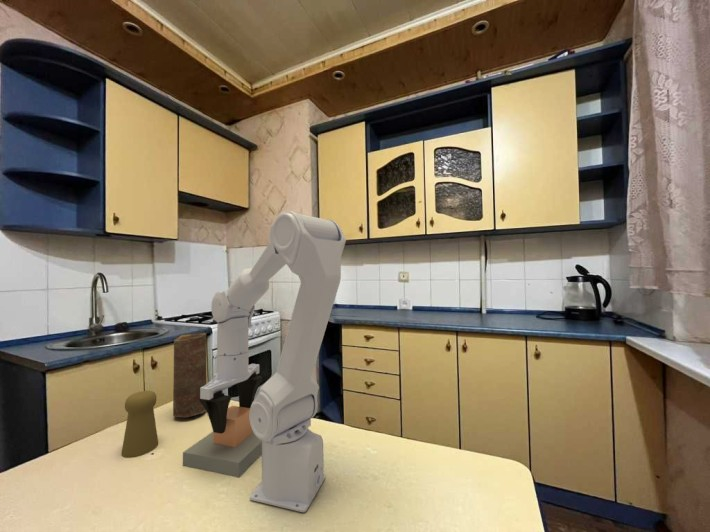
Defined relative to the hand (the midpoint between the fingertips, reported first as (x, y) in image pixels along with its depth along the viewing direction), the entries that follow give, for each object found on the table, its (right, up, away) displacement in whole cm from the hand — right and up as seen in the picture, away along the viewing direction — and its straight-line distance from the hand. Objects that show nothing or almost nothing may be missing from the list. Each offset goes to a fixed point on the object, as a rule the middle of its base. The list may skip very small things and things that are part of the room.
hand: (233, 421), depth 57 cm
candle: (-17, -7, +15) cm, 24 cm away
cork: (-19, -6, +1) cm, 20 cm away
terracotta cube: (0, -3, 0) cm, 3 cm away
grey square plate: (0, -6, 0) cm, 6 cm away
